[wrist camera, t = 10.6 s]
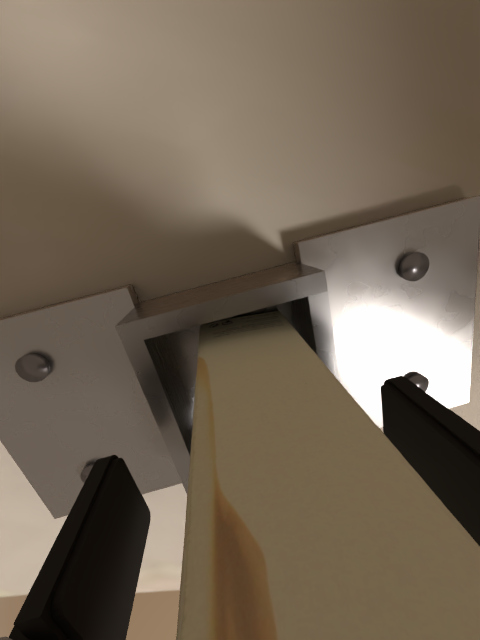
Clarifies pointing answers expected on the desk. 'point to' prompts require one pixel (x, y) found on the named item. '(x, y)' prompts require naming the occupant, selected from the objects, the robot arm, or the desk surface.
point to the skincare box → (309, 508)
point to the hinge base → (226, 303)
